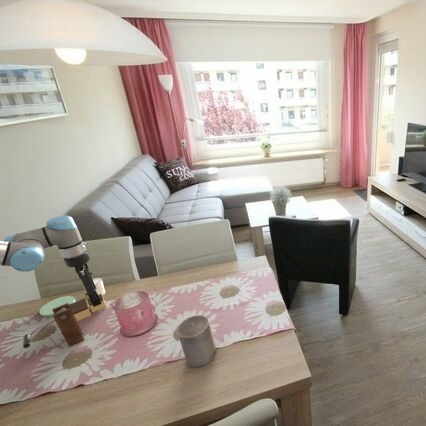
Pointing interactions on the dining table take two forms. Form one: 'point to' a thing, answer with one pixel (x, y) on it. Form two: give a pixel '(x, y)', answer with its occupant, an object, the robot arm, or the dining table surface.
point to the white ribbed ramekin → (98, 286)
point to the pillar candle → (197, 341)
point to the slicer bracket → (68, 325)
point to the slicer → (38, 332)
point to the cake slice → (98, 305)
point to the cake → (80, 309)
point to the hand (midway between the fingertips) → (95, 297)
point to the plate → (55, 305)
